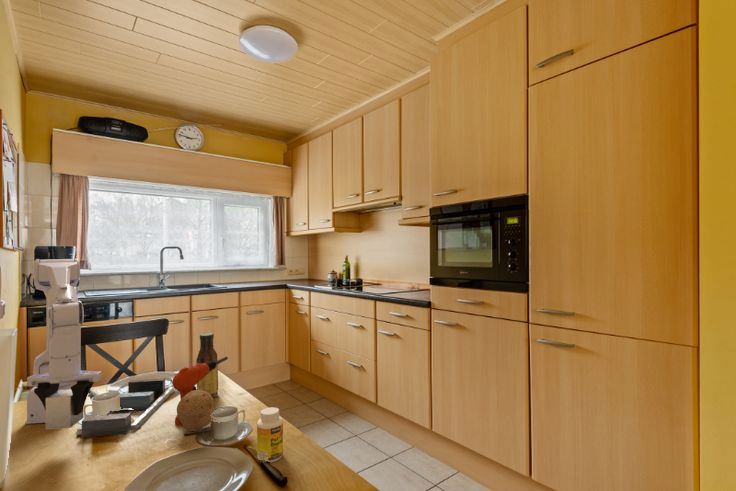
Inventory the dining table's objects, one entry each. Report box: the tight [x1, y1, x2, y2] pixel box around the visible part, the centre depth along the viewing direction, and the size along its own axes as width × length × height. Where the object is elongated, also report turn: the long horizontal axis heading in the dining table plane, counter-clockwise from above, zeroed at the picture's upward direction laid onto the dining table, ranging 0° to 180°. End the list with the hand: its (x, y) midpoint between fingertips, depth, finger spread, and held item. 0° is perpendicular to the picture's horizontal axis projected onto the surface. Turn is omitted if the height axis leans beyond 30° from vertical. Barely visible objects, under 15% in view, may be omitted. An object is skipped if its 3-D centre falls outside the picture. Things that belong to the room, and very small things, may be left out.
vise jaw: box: [119, 378, 166, 411], centre depth 117 cm, size 10×12×5 cm
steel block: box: [45, 389, 84, 430], centre depth 89 cm, size 5×5×7 cm
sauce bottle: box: [195, 332, 219, 399], centre depth 121 cm, size 7×6×20 cm
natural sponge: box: [176, 390, 216, 432], centre depth 99 cm, size 9×9×10 cm
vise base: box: [76, 386, 175, 438], centre depth 110 cm, size 14×30×4 cm, turn 9°
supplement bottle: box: [256, 407, 284, 464], centre depth 85 cm, size 6×6×10 cm
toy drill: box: [171, 356, 229, 427], centre depth 109 cm, size 5×19×15 cm, turn 154°
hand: (65, 414), depth 89 cm, fingers closed on steel block, 5 cm apart
